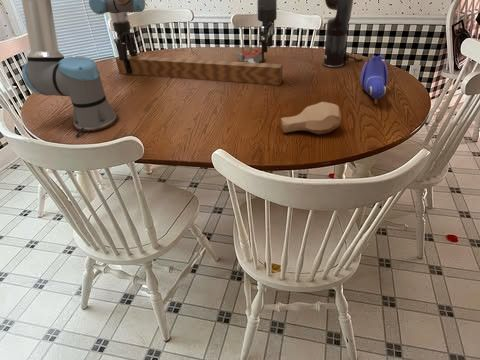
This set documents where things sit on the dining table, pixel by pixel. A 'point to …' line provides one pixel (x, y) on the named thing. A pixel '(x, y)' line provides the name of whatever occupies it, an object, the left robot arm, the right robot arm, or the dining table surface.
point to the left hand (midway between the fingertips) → (132, 71)
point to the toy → (374, 77)
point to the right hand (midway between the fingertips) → (267, 49)
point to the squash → (314, 119)
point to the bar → (204, 69)
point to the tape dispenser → (251, 56)
